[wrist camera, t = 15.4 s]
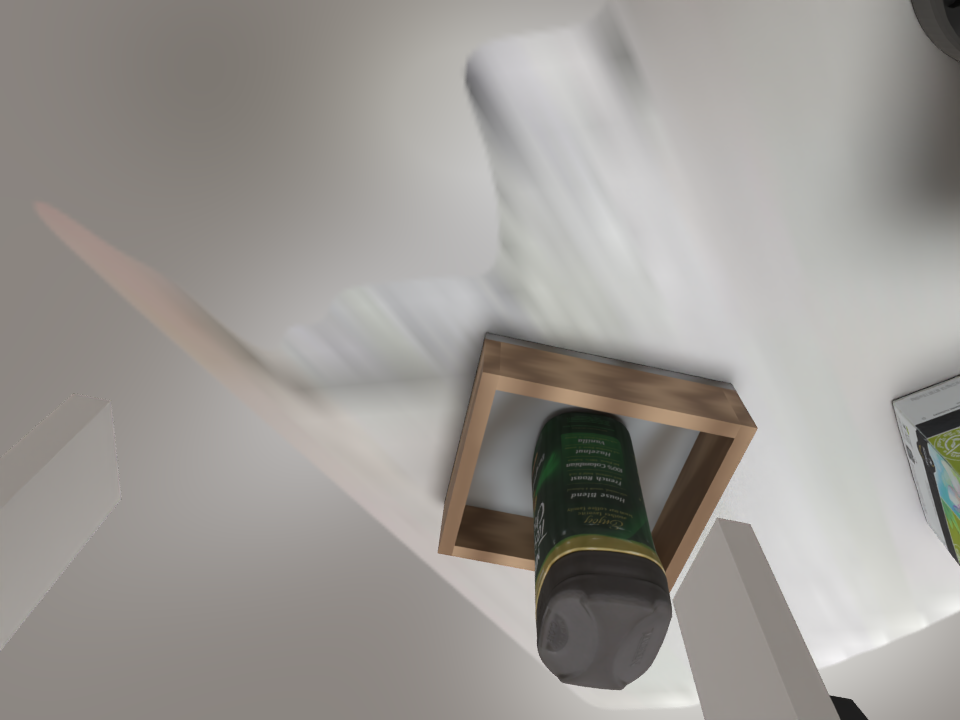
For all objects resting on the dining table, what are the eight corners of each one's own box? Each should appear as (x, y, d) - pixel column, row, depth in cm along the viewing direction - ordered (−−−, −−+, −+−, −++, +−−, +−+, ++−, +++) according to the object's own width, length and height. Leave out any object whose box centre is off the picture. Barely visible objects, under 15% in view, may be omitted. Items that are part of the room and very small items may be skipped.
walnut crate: (731, 384, 49) (757, 428, 44) (654, 543, 58) (667, 595, 53) (485, 332, 48) (482, 372, 43) (444, 503, 57) (437, 553, 52)
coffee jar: (540, 401, 50) (553, 590, 34) (637, 413, 50) (697, 606, 34) (522, 493, 55) (526, 696, 39) (611, 503, 55) (653, 710, 39)
